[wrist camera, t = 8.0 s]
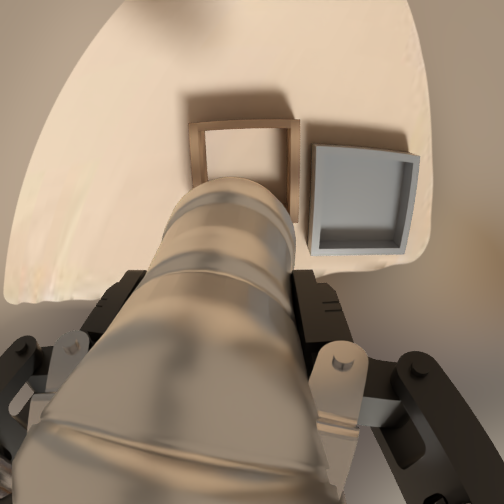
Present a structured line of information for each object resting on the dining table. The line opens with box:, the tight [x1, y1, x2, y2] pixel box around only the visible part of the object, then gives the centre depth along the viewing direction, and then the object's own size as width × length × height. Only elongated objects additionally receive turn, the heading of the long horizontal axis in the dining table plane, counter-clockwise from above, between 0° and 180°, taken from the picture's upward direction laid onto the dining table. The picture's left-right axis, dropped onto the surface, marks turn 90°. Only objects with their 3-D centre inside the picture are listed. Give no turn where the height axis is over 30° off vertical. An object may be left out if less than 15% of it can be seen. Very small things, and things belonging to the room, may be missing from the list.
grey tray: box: [307, 144, 420, 256], centre depth 33 cm, size 14×14×3 cm
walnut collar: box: [188, 119, 300, 223], centre depth 31 cm, size 12×12×4 cm
